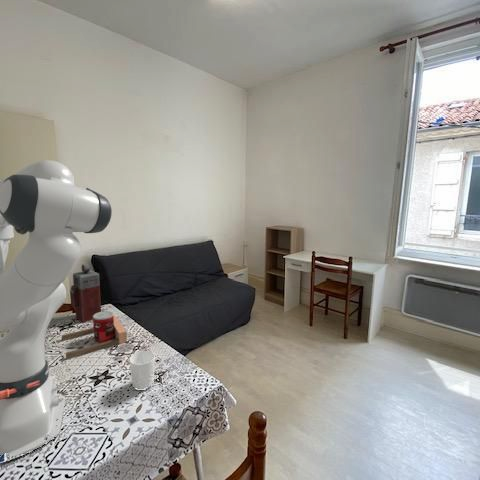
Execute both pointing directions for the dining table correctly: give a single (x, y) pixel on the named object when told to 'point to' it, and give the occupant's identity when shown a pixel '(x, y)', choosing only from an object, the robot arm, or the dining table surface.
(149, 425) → the dining table surface
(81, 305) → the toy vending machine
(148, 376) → the white cup
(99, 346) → the guide rails
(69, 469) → the dining table surface
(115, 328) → the end stop
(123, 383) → the dining table surface
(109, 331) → the canned food
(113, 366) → the dining table surface
